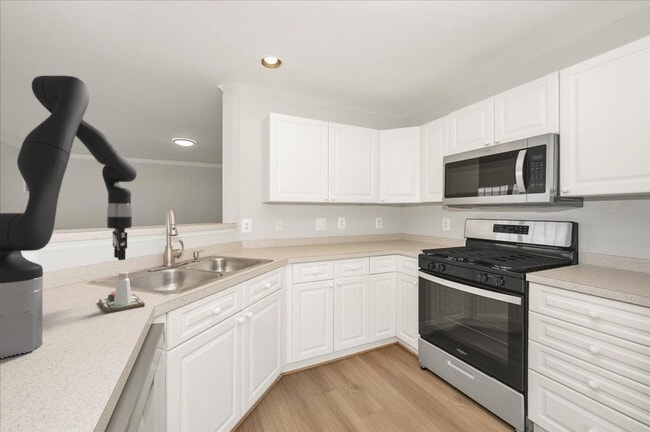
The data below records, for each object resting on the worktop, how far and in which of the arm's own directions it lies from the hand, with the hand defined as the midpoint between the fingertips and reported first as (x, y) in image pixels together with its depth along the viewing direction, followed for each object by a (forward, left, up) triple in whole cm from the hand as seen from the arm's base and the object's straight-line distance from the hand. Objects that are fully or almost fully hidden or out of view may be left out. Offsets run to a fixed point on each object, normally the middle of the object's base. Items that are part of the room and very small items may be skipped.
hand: (119, 258), depth 106 cm
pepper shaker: (-8, 0, -15) cm, 17 cm away
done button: (0, 0, -14) cm, 14 cm away
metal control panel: (-5, 0, -16) cm, 17 cm away
